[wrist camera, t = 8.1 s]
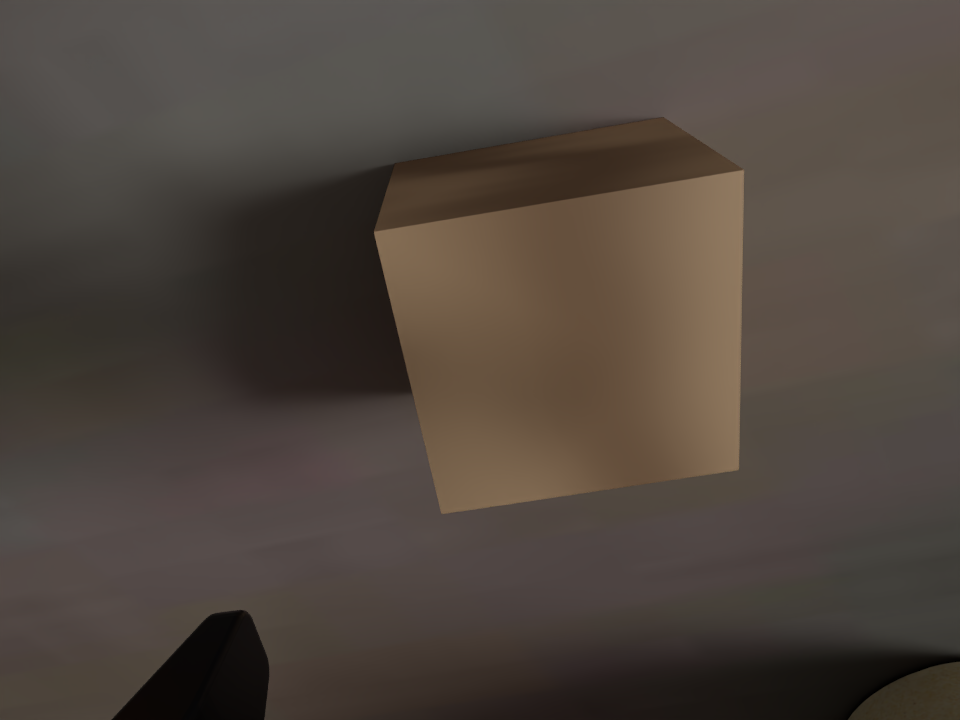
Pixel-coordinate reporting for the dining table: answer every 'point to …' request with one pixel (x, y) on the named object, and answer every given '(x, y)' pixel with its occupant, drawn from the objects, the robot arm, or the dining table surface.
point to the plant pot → (916, 697)
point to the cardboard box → (569, 311)
